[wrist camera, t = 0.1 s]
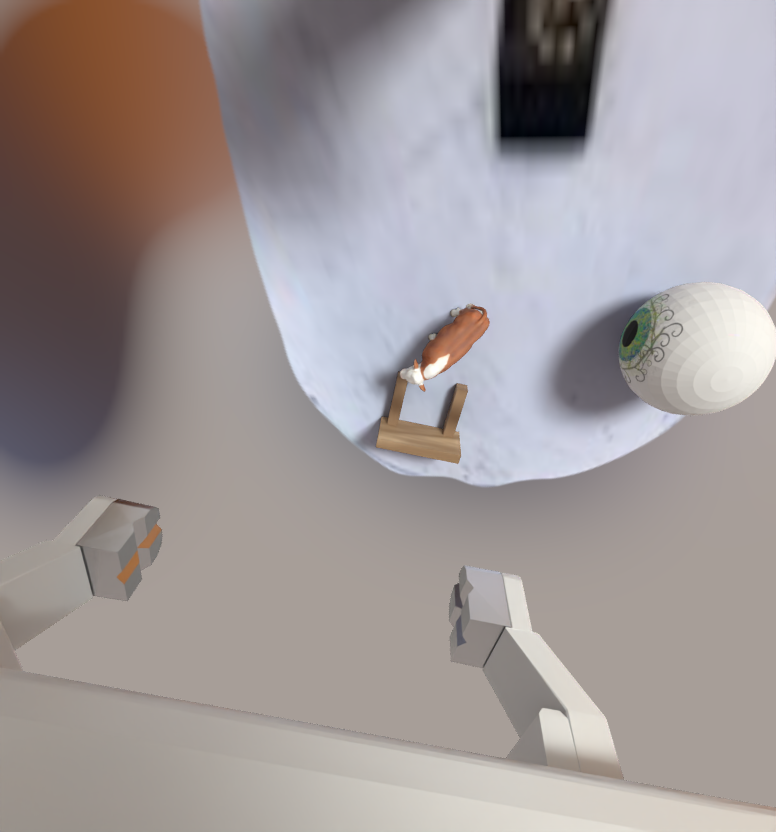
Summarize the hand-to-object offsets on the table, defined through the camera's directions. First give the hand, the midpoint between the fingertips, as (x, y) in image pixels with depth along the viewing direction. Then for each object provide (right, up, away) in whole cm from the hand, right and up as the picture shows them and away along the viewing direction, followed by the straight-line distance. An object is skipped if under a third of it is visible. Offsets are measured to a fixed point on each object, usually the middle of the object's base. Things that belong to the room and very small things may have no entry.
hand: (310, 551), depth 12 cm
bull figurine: (+10, +15, +50) cm, 53 cm away
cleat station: (+8, +6, +55) cm, 56 cm away
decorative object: (+37, +15, +47) cm, 62 cm away
